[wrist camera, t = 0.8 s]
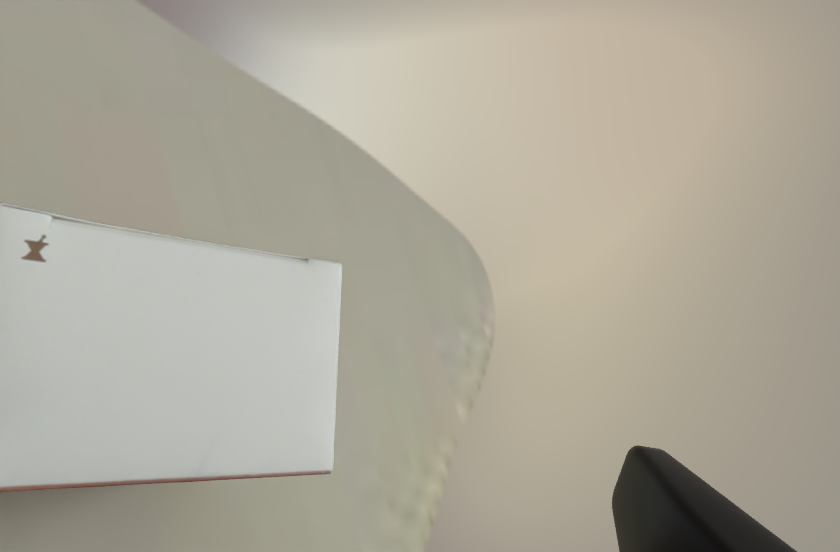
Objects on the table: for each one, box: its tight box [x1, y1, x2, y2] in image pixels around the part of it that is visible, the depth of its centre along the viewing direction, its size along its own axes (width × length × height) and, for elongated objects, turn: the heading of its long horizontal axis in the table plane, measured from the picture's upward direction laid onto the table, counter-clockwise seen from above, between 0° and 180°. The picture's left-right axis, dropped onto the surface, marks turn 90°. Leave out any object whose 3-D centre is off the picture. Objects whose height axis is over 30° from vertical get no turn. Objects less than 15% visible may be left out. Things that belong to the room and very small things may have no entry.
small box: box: [0, 202, 342, 492], centre depth 17 cm, size 8×6×10 cm
